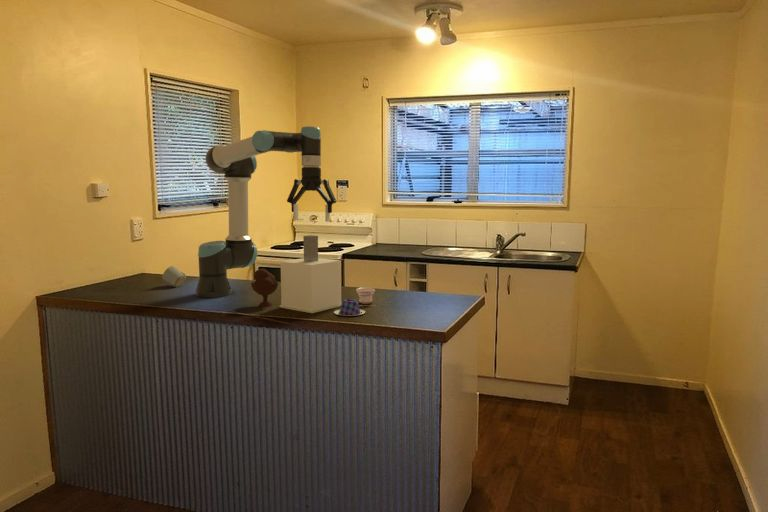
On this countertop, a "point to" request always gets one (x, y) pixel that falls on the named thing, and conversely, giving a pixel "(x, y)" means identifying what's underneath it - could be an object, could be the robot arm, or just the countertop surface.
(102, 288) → the countertop surface
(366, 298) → the teacup
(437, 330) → the countertop surface
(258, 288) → the ice cream bowl
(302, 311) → the mat
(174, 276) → the ceramic mug
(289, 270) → the cover
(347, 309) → the pudding
